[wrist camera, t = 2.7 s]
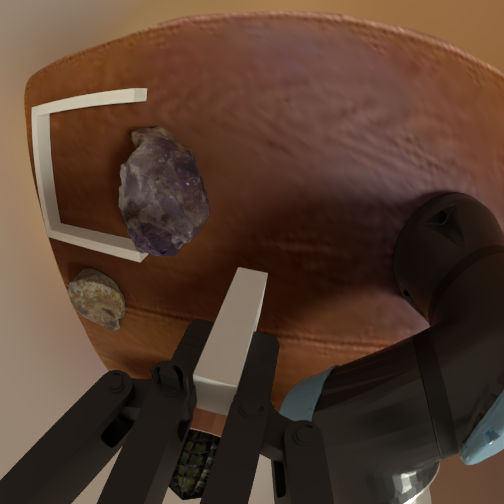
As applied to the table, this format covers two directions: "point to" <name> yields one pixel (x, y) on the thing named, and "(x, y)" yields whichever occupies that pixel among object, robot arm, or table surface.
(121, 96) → the bay
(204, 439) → the potted plant
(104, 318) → the oyster shell
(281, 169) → the table surface
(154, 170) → the rock
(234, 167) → the table surface
